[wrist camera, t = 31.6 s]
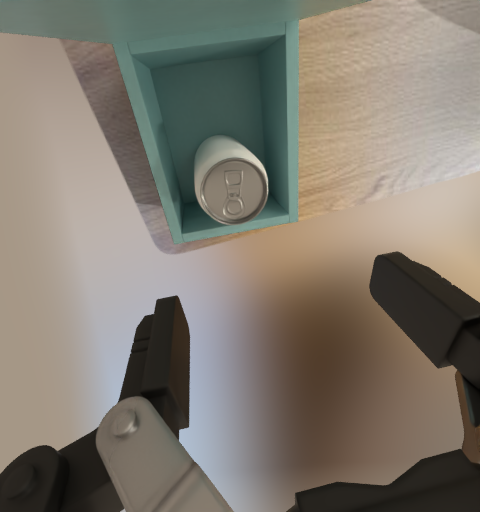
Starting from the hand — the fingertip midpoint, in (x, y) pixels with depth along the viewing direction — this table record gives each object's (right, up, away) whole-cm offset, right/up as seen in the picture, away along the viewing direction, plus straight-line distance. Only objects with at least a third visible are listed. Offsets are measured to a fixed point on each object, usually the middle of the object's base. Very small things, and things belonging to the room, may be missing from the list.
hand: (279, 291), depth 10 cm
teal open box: (-4, +16, +20) cm, 25 cm away
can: (-4, +13, +21) cm, 25 cm away
